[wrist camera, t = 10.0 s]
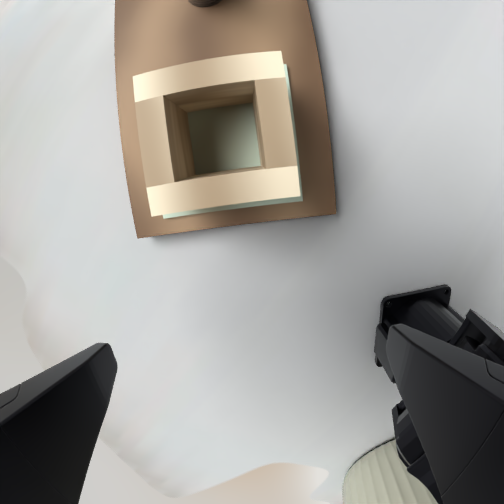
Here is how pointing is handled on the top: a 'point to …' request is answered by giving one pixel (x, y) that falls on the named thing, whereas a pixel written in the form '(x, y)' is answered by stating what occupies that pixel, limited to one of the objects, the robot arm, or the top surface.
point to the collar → (206, 97)
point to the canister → (383, 480)
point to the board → (227, 117)
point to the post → (204, 2)
